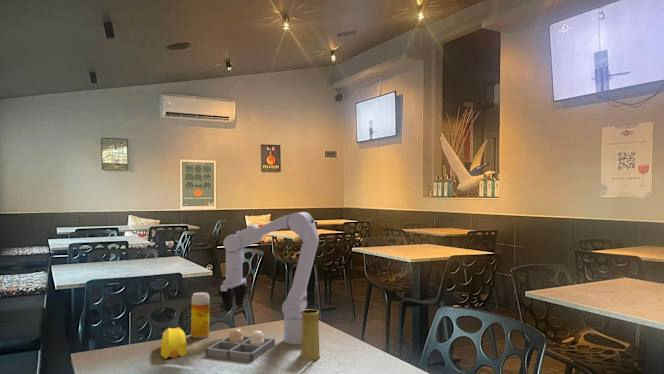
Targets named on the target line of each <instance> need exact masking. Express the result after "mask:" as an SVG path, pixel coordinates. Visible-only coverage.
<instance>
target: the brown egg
mask: <svg viewBox="0 0 664 374" xmlns="http://www.w3.org/2000/svg"><path fill="white" fill-rule="evenodd" d="M229 335H230V342H236V343H241V342H243V336H244V331H243V330H242V329H241V328H236V327H235V328H233V329H231V331H230V332H229Z"/></svg>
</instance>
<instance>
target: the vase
mask: <svg viewBox="0 0 664 374" xmlns="http://www.w3.org/2000/svg"><path fill="white" fill-rule="evenodd" d="M319 315H320V313H319V310H318V309H314V308H313V309H311V308H309V309H307V308H306V309H305V310H303V311H302V335H301V344H300V357H301V358H303V359H309V360H310V362H314V361H317V360H318V361H319V360H320V358H321V355H320V354H321V353H320V327H319V326H320V325H319V324H320V323H319V318H320V316H319Z"/></svg>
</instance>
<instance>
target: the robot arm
mask: <svg viewBox="0 0 664 374" xmlns="http://www.w3.org/2000/svg"><path fill="white" fill-rule="evenodd" d="M281 229H286V230H288V229H290V230H291V231H292V232H293V233H295V234H296V235H298V237H299V239H300V240H301V242H302V246H301V250H300V253H299V258H298V261H297V265H296V269H295V273H294V277H293V280H292V284H291V288H290V289H289V292H288V294H287V296H286V299H285V300H284V302H283V303H282V305H281V311H282V314H283V342H284V343H285V344H287V345H288V344H289V345H301V335H302V311H303V310H306V309H307V307H308V301H307V295H308V290H307V288H308V284H309V281H310V276H311V273H312V269H313V265H314V261H315V258H316V253H317V251H318V247H319V243H320V238H319V237H320V236H319V234H318V233H319V232H318V231H317V229H318V228H317V226H316V220H315V219H314V218H313V216H312V215H311V214H310V213H309V212H307V211H300V212H293V213H291V214H287V215H283V216H281V217H278V218H275V219H274V220H272V221H270V222H267V223H266V224H263V225H261V226H258V225H253V224H251V225H248V226H247V228H245V229H242V230H241V231H240V230H237V231H235V234H228V235H227V236H225V238H224V240H223V242H222V245H223V247H224V249H225V280H223V281H222V284H220V289H219V290H218V294H219V295H220V298H221V300H222V304H223V306H224V307H223V308H224V311H226V312H231V311H232V310H233V300H234V301H235V305H236V306H237V307H242V306H243V303H244V299H245V297H246V293H247V290H248V289H249V288H250V287H249V285H248V284H247V278H245V277H243V262H244V261H243V255H244V253H243V251H244V248H247V247H249V246H251V245H253V244H255V243H256V244H257V243H258V242H260V241H262V240H263V237H264V236H265V235H267V234H270V233H273V232H275V231H278V230H281Z"/></svg>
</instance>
